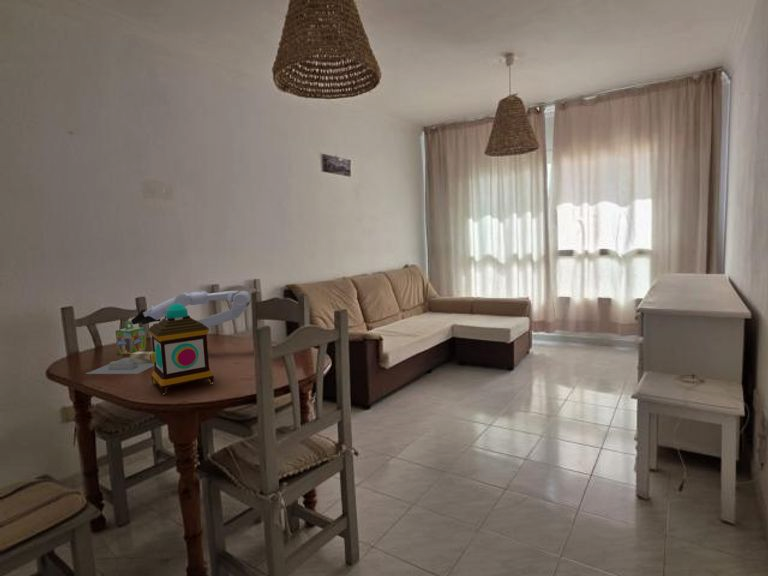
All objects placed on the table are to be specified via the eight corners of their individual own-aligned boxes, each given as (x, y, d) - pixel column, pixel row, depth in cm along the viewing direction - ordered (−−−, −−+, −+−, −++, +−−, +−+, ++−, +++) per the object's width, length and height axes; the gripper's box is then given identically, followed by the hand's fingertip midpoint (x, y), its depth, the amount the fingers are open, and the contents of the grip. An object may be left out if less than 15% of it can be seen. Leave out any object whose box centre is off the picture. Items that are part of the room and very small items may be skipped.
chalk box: (134, 355, 209) (131, 324, 207) (116, 355, 210) (113, 324, 208) (147, 350, 218) (145, 320, 216) (130, 350, 219) (128, 320, 217)
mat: (171, 358, 200) (171, 357, 200) (137, 375, 177) (137, 373, 177) (125, 358, 203) (125, 357, 202) (85, 375, 179) (85, 373, 179)
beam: (162, 360, 196) (162, 351, 195) (157, 363, 192) (156, 353, 191) (136, 360, 197) (136, 351, 196) (130, 363, 193) (130, 354, 192)
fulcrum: (138, 366, 187) (137, 360, 186) (131, 369, 183) (131, 363, 182) (115, 366, 188) (114, 360, 187) (108, 369, 184) (108, 363, 183)
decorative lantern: (147, 384, 165) (139, 303, 162) (203, 373, 177) (197, 297, 174) (158, 398, 150) (150, 309, 146) (219, 385, 161) (213, 302, 158)
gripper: (169, 301, 207) (141, 314, 206) (153, 299, 192) (124, 314, 192) (175, 315, 207) (148, 328, 206) (160, 314, 192) (131, 328, 191)
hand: (137, 322), depth 199 cm, fingers open, 7 cm apart
